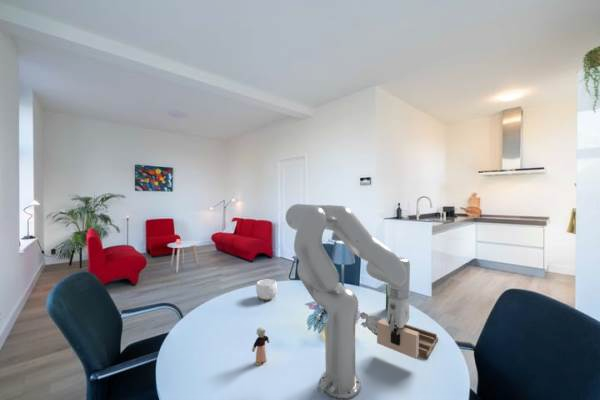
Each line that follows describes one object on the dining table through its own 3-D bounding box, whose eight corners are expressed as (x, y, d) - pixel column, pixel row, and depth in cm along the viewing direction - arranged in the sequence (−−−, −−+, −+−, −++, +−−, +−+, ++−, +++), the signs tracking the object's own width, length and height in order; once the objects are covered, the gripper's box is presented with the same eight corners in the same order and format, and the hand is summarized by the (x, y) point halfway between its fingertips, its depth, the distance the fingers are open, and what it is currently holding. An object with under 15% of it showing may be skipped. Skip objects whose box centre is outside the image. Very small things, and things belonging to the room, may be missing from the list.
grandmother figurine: (258, 369, 89) (258, 333, 89) (250, 365, 91) (250, 330, 91) (272, 357, 96) (272, 323, 96) (264, 353, 98) (264, 321, 98)
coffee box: (401, 309, 134) (401, 284, 133) (402, 312, 131) (402, 286, 130) (385, 308, 135) (385, 284, 135) (386, 311, 132) (386, 286, 132)
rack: (427, 359, 94) (427, 352, 94) (385, 342, 104) (385, 336, 104) (438, 339, 106) (438, 334, 106) (399, 327, 116) (399, 321, 116)
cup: (276, 302, 144) (276, 285, 144) (254, 303, 144) (254, 286, 144) (278, 294, 156) (278, 278, 156) (258, 294, 156) (258, 278, 156)
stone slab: (360, 311, 130) (380, 312, 128) (360, 315, 130) (380, 316, 128) (360, 331, 112) (384, 333, 110) (360, 335, 112) (384, 337, 110)
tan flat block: (415, 358, 88) (416, 335, 88) (377, 343, 97) (377, 322, 97) (418, 354, 90) (419, 332, 90) (380, 339, 99) (380, 319, 99)
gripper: (400, 301, 84) (399, 356, 85) (415, 288, 97) (414, 336, 97) (378, 295, 89) (377, 347, 90) (396, 283, 102) (395, 329, 102)
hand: (397, 341), depth 93 cm, fingers closed on tan flat block, 3 cm apart
